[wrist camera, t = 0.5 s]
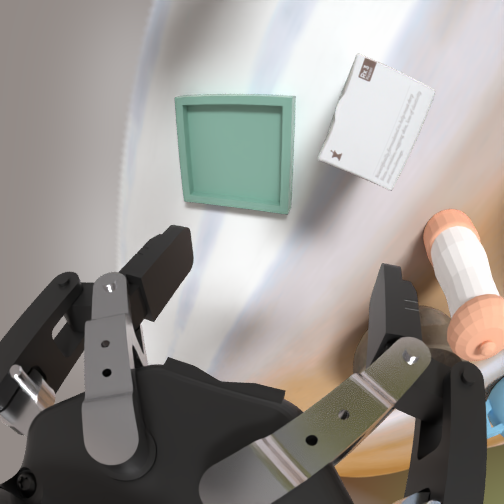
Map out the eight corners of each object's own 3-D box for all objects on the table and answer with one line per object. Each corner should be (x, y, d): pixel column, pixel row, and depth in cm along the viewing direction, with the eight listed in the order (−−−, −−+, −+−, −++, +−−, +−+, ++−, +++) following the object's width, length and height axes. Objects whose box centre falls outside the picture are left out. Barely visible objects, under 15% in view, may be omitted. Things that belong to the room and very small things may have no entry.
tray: (182, 95, 35) (174, 97, 33) (295, 96, 31) (292, 97, 30) (190, 195, 43) (184, 201, 41) (290, 207, 39) (287, 214, 37)
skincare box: (378, 148, 31) (393, 200, 20) (329, 126, 32) (313, 165, 20) (405, 82, 26) (442, 93, 15) (353, 60, 27) (355, 51, 15)
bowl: (456, 356, 44) (462, 403, 36) (363, 368, 52) (358, 414, 44) (463, 281, 36) (479, 332, 28) (348, 298, 44) (341, 351, 36)
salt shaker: (470, 256, 34) (510, 372, 19) (422, 260, 37) (442, 382, 22) (474, 207, 31) (535, 316, 16) (422, 210, 34) (457, 326, 18)
